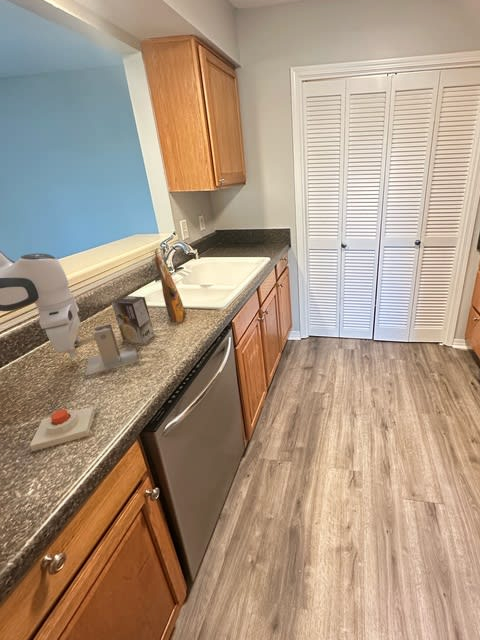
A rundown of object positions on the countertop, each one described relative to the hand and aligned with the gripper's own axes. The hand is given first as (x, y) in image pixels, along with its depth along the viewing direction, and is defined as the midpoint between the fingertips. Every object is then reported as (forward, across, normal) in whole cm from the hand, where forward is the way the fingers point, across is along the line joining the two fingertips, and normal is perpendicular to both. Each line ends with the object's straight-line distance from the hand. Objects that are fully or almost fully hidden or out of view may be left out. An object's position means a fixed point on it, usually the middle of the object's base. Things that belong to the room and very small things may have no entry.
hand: (75, 351), depth 97 cm
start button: (+4, +27, -1) cm, 28 cm away
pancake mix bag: (+8, -26, +31) cm, 41 cm away
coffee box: (+8, -12, +16) cm, 22 cm away
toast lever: (-1, 0, +5) cm, 5 cm away
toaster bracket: (+7, 0, +8) cm, 11 cm away
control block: (+7, +27, -1) cm, 28 cm away
